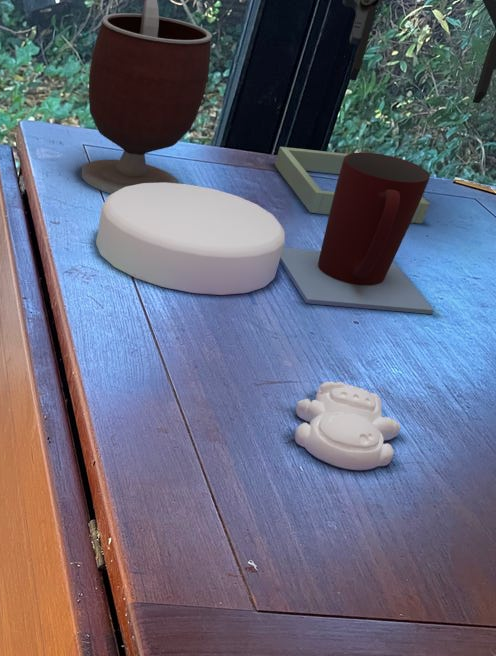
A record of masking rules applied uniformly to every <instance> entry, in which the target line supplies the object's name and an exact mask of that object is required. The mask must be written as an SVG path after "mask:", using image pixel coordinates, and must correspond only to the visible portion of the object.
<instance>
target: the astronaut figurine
mask: <svg viewBox="0 0 496 656" xmlns="http://www.w3.org/2000/svg"><path fill="white" fill-rule="evenodd" d="M382 407H383V403H382V399H381V398H380V396H379V395H378V394H376V393H373V392H370V391H368V390H366V389H364V388H362V387H358V386H355V385H351V384H346V383H344V382H343V381H336V382H335V381H325V382H323V383H321V384H320V385H319V387H318V389H317V391H316V395H315V399H312V400H310V399H309V398H304V399H300V400H299V401H297V403H296V406H295V411H296V416H297V417H299V418H300V419H302V420H304V421H306V422H303V423H300V425H298V426H297V427H296V429H295V433H294V441H295V443H296V444H297V445H298V446H300V447H302V448H305V450H306V451H307V452H309V454H311V455H312V456H314V457H315V458H317V459H318V460H320V461H322V462H323V463H324V462H325V463H327V464H329V465H331V466H334V467H337V468H340V469H341V468H342V469H346V470H351V471H367V470H372V469H375V468H377V467H385V466H388V465H389V464H390V463H391V462H392V459H393V457H394V452H395V451H394V448H393V446H392V445H391V444H390V443H384V442H385V441H389V440H392V439H394V438H395V437H396V436H398V435H399V433H400V432H401V424H400V423H399V422H398V421H397V419H394V418H391V417H389V416H383V414H382V409H383V408H382ZM307 422H308V423H307Z"/></svg>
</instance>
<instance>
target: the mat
mask: <svg viewBox="0 0 496 656" xmlns="http://www.w3.org/2000/svg"><path fill="white" fill-rule="evenodd" d="M320 252H321V250H315V249H314V250H313V249H303V248H295V247H293V248H292V247H285V246H284V247H283V251H282V254H281V258H280V261H279V264H280V265H281V266H282V268H283V270H284V271H285V272H286V274H287V276H288V277H289V279H290V280H291V282H292V283H293V285H294V287H295V288H296V290H297V292H298V293H299V295H300V296H301V298H302V299H303V301H304V302H305V304H307V305H308V304H310V305H318V306H319V305H320V306H331V307H332V306H333V307H344V308H356V309H367V310H379V311H390V312H403V313H411V314H412V313H413V314H426V315H433V314H434V311H435V310H434V308H433V307H432V306H431V304H430V303H429V302H428V301H427V300H426V298H425V297H424V296H423V295H422V294H421V293H420V292H419V290H418V288H416V287H415V285H414V284H413V283H412V282H411V281H410V279H409V278H408V276H406V275H405V274H404V272H403V271H402V270H401V268H400V267H398V265H397V264H396V262H395V261H393V262H392V264H391V266H390V268H389V270H388V272H387V275H386V277H385V279H384V280H383V281H382V282H381V283H378V284H373V285H362V284H354V283H349V282H345V281H342V280H339V279H336V278H334V277H332V276H330V275H328V274H326V273H325V272H323V271H322V270H321V269H320V268H319V266H318V262H319V257H320Z"/></svg>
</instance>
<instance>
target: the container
mask: <svg viewBox="0 0 496 656" xmlns="http://www.w3.org/2000/svg"><path fill="white" fill-rule="evenodd" d="M95 244H96V247H97V249H98V252H99V254H100V256H101V257H102V258H103V259H104V260H106V261H107V262H108V263H109V264H110V265H111V266H112V267H113V268H116V269H117V270H119V271H121V272H123V273H125V274H127V275H129V276H130V277H133V278H135V279H138V280H140V281H143V282H146V283H149V284H152V285H155V286H157V287H162V288H166V289H171V290H175V291H181V292H186V293H190V294H191V293H192V294H202V295H215V296H217V295H218V296H226V295H239V294H247V293H252V292H255V291H257V290H260V289H263V288H265V287H267V286H268V285H269V284H270V283H271V282H272V281H273V280H274V279H275V278H276V274H277V271H278V267H279V265H280V258H281V254H282V251H283V247H284V248H285V244H286V231H285V229H284V227H283V226H282V225H281V223H280V222H279V220H278V219H277V218H276V216H275V215H274V214H272V213H271V212H269V211H268V210H266V209H264V208H263V207H262V206H260V205H259V204H257V203H254V202H252V201H250V200H248V199H245V198H243V197H241V196H238V195H235V194H232V193H229V192H225V191H223V190H219V189H215V188H211V187H205V186H199V185H193V184H188V183H178V184H177V183H142V184H137V185H132V186H127V187H124V188H122V189H120V190H118V191H116V192H115V193H113V194H111V193H110V195H108V196H107V197H106V198H105V200H104V203H103V204H102V207H101V211H100V217H99V223H98V228H97V234H96V240H95Z"/></svg>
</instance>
